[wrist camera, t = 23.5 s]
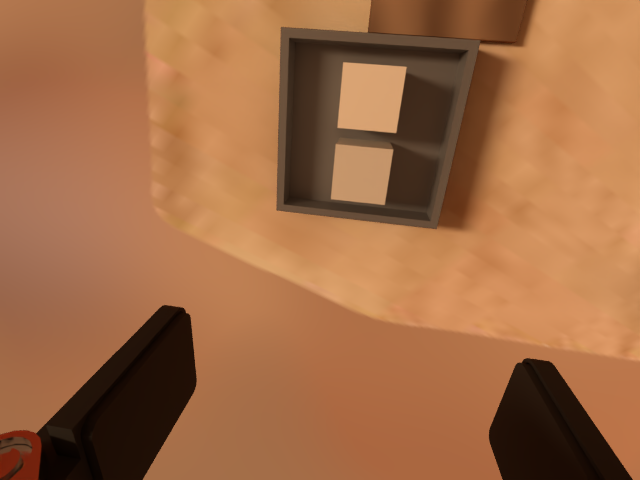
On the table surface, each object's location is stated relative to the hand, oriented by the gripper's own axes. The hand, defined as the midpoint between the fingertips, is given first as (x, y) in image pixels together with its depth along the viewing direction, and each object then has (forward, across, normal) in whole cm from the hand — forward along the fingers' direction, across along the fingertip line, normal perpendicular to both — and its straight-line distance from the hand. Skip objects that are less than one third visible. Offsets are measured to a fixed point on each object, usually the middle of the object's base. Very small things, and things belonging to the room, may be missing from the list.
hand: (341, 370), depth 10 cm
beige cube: (+31, 0, 0) cm, 31 cm away
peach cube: (+31, 0, -7) cm, 32 cm away
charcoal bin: (+32, 0, -4) cm, 32 cm away
